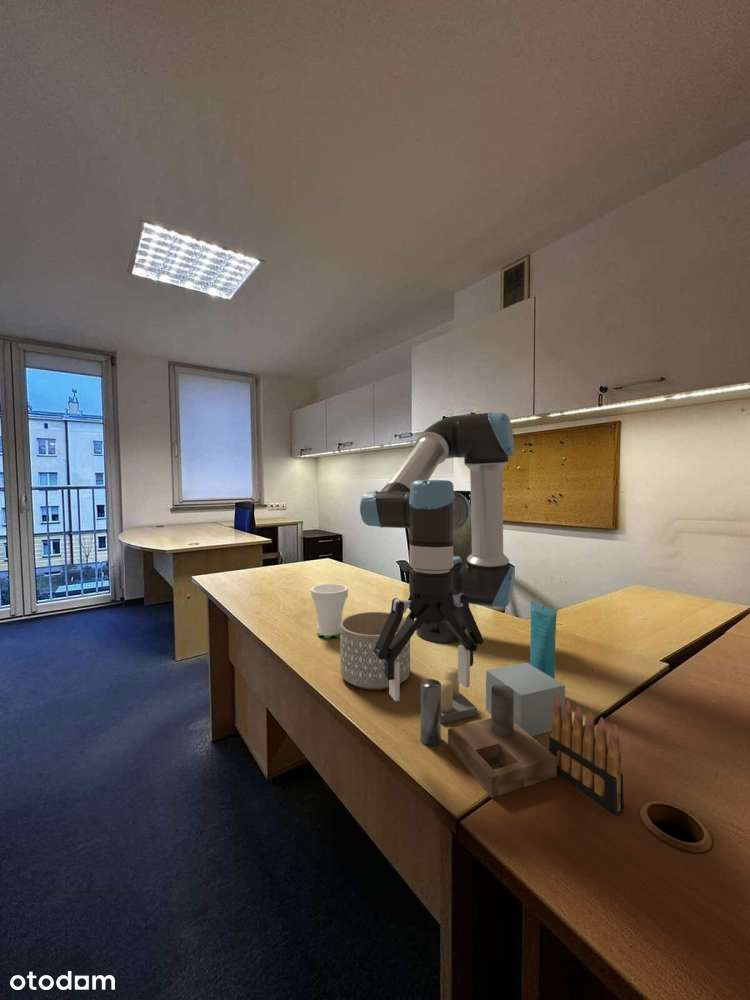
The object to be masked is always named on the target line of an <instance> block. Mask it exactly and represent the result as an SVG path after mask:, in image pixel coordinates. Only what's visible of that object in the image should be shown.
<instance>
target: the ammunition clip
mask: <svg viewBox="0 0 750 1000" xmlns="http://www.w3.org/2000/svg"><path fill="white" fill-rule="evenodd" d="M583 722H584V721H583V712H582V708H581V706H580V705H579V704H577V705H576V708H575V710H574V715H573V711H572V706H571V701H570V700H569V698H568V699H565V706H564V712H563V720H562V706H561V700H560V697H559V695H558V694H557V695H556V697H555V700H554V707H553V717H552V732H550V733H551V736H549V741H548V742H549V743H548V744H549V745H548V750H549V751H550V752H551V753H552V754H554V755H555V756H556V757H557V776H559V777H561V778H562V779H563V780H565V781H566V782H568V783H569V784H570V785H572V786H573V787H575V788H576V789H577V790H579V791H580V792H581V793H583V794H584V795H586V796H587V797H589V798H590V799H591V800H593V801H594V802H596V803H597V804H598V805H600V806H601V807H603V809H605V810H607V811H608V812H609V813H611V814H612V815H614V816H615V817H616V816H618V815H620V814H621V813H623V812H624V811H625V805H624V774H623V773H622V755H621V746H620V733H619V729H618V726H617V724H616V723H613V724H612V726H611V728H610V732H609V740H608V738H607V727H606V721H605V719H604V717H602V716H601V717H600V718H599V720H598V722H597V728H596V734H595V721H594V717H593V714H592V710H588V712H587V714H586V717H585V723H583ZM595 735H596V737H595ZM608 741H609V743H608Z"/></svg>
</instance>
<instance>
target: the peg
mask: <svg viewBox="0 0 750 1000" xmlns="http://www.w3.org/2000/svg"><path fill="white" fill-rule="evenodd" d="M419 687H420V690H419V691H420V700H419V701H420V704H419V705H420V709H419V710H420V711H419V712H420V713H419V715H420V718H419V720H420V728H419V729H420V731H419V732H420V736H419V737H420V738H419V741H420V742H421V744H422V745H423V746H426V747H428V748H429V747H431V748H433V747H437V746H439V745H440V744H441V743H442V724H441V683H440V682H439V681H438V680H437V679H433V678H427V679H422V680H421V681H420V686H419Z"/></svg>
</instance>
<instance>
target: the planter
mask: <svg viewBox="0 0 750 1000" xmlns="http://www.w3.org/2000/svg"><path fill="white" fill-rule="evenodd" d="M389 614H390V612H386V611H367V612H366V611H365V612H359V613H355V614H351V615H348V616H345V617H344V618H342V621H341V623H340V636H339V638H340V641H339V642H340V644H339V645H340V646H339V650H340V651H339V652H340V654H339V657H340V660H339V661H340V664H339V665H340V676H341V677H342V679H344V681H346V682H347V683H349V684H351V685H353V686H354V687H357V688H360V689H364V690H370V691H371V690H373V691H377V690H378V691H379V690H387V689H389V680H388V679H387V678H386V677H385V674H384V671H385V670H384V659H382V660H381V659H379V658H378V657H377V655H376V654H375V653H374V648H375V646H376V643H377V641H378V639H379V637H380V634H381V632H382V630H383V628H384V626H385V623H386V621H387V619H388V617H389ZM405 621H406V617H405V616H403V617H402V620H401V622H400V625H399V627H398V629H397V631H396V634H397V632H398V631H399V630H400V628H401V627H402V625H403V624H404V623H405ZM396 634H395V635H396ZM397 659H398V660H399V661H400V684H401V683H403V682H404V681H406V680H407V679H408V678H409V677H410V676H411V675H410V674H411V638H410V639H409V641H408V642H407V644H406V645H405V646H404V648H403V649H402V651H401V652H400V653H399V655H398V656H397Z"/></svg>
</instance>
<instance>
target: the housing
mask: <svg viewBox="0 0 750 1000" xmlns="http://www.w3.org/2000/svg"><path fill="white" fill-rule="evenodd" d="M485 671H486V672H485V710H486V712H488V713H489V714H490V715H491V693H492V686H494V685H499V684H500V685H506V686H509V687H511V688H512V689H513V690H514V722H515V723H516V724H517V725H518V726H520V727H521V728H522V729H523V730H525V731H526V732H527V733H528V734H529V735H531V736H534V737H536V736H535V735H537V736H540V735H539V734H541V735H543V734H542V733H545V734H547V733H546V732H548V733H551V732H550V731H552V717H553V707H554V700H555V697H556V695H557V694H558V695H559V697H560V700H561V706H562V720H563V712H564V706H565V702H566V685H565V684H563V683H562V682H560V681H559V680H557V679H556V678H555V679H554V678H552V677H550V676H549V675H547V674H545V673H543V672H542V671H540V670H538V669H537V668H535V667H533V666H532V665H530V663H528V662H523V663H518V664H513V665H512V664H511V665H507V666H501V667H496V668H491V669H487V670H485Z"/></svg>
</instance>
